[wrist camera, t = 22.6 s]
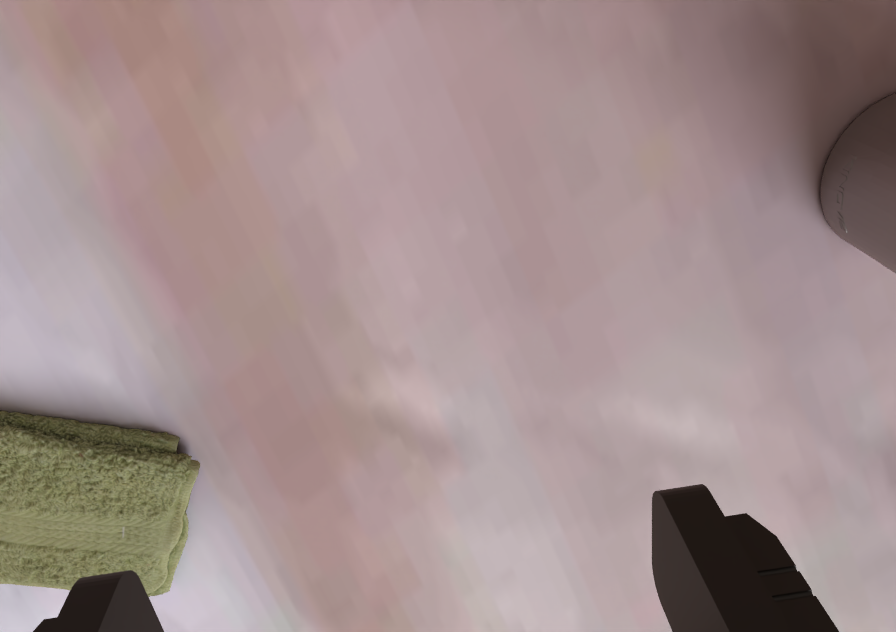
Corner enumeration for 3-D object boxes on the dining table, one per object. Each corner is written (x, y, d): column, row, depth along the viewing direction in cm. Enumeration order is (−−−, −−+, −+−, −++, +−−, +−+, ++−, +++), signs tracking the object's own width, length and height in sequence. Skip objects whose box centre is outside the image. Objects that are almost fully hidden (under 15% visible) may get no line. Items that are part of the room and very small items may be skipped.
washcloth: (180, 582, 51) (169, 621, 48) (-103, 543, 47) (-134, 583, 44) (209, 432, 45) (198, 466, 42) (-109, 375, 42) (-144, 408, 39)
